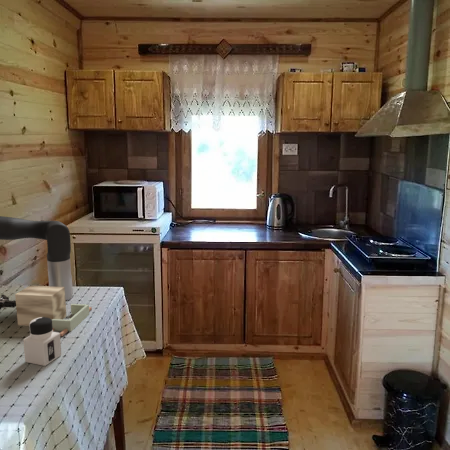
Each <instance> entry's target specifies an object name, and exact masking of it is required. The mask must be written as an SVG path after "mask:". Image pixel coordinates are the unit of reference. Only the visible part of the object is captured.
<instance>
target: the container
mask: <svg viewBox="0 0 450 450" xmlns="http://www.w3.org/2000/svg"><path fill="white" fill-rule="evenodd" d="M28 327H29V335H28V336H26V337H25V338H23V349H24V350H23V352H24V362H25V363H28V364H34V365H39V366H43V367H46V366H47V365H49V364H50V363H52V362H53V361H55V360H57V358H59V357H61V356H62V344H61V343H62V342H61V337H60V333H58V332H53V326H52V320H51V319H50V318H47V317H40V318H36V319H34V320H32V321H31V322H30V323H29V326H28Z"/></svg>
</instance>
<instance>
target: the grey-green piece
mask: <svg viewBox="0 0 450 450" xmlns="http://www.w3.org/2000/svg"><path fill="white" fill-rule="evenodd" d="M92 308H93V307H92V306H90V304H86V303H84V304H83V303H82V304H79V303H71V304H70V313H71V315H72V317H70V318H69V319H52V326H53V332H58V333H60V338H63V337H64V336H65V335H66V334H68V332H72V331H73V330H75V329H76V328H77V327H78V326H79V325H80V324H81V323H82V322H83V321H84V320H85V319H86V318H87V317H88V316H90V312H91V311H92V310H93V309H92Z"/></svg>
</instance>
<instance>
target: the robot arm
mask: <svg viewBox="0 0 450 450" xmlns="http://www.w3.org/2000/svg"><path fill="white" fill-rule="evenodd" d="M22 239H39V240H43V241H46V245H47V254H46V261H47V262H46V263H47V276H48V277H47V278H48V286H51V287H65V301H69V300H70V299H72V298H73V296H74V295H73V293H74V292H73V290H74V289H73V277H72V265H71V252H72V251H71V250H72V249H71V247H72V246H71V245H72V244H71V233H70V229H69V227H68V226H67V225H66V224H64V223H63V222H61V221H59V220H32V219H31V220H29V219H24V218H17V217H11V216H5V215H4V216H3V215H1V216H0V240H4V241H13V240H22ZM6 308H13V309H14V308H16V300H10V298H9V296H7V295H5V294H1V295H0V310H2V309H6Z"/></svg>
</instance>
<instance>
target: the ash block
mask: <svg viewBox="0 0 450 450" xmlns="http://www.w3.org/2000/svg"><path fill="white" fill-rule="evenodd" d="M14 296H15V297H14V298H15V301H16V307H15V308H16V319H17V320H16V321H17V325H18V326H24V327H25V326H28V327H29V323H30V322H31V321H32V320H34V319H36V318H40V317H47V318H50V319H51V320H52V319H63V320H65V319H66V317H67V303H66V302H67V300H65V287H51V286H49V285H48V286H47V285H45V286H44V285H29V286H27V287H25V288H23V289H22V290H21V291H19V292H17V293H15V294H14Z"/></svg>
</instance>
